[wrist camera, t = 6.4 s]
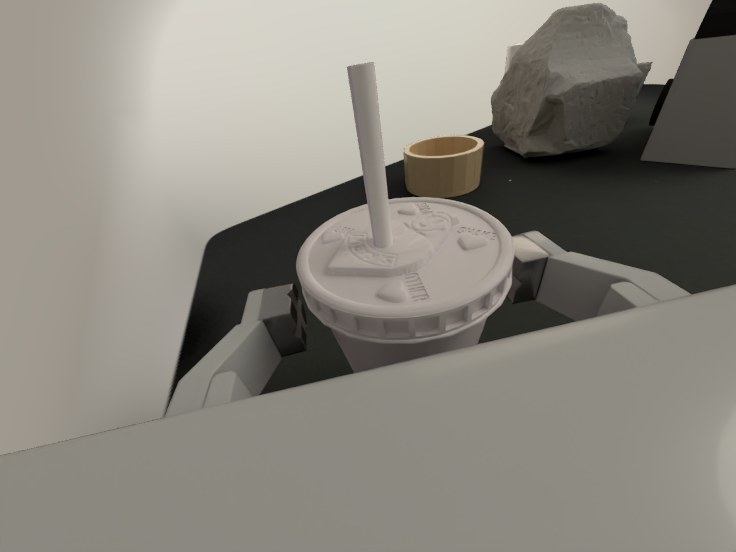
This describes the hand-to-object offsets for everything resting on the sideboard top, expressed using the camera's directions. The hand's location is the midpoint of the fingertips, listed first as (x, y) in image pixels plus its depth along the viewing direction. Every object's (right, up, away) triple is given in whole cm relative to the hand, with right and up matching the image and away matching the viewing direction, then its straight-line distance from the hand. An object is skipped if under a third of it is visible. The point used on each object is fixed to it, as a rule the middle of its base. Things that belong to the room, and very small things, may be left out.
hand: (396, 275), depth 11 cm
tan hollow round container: (+8, +12, +26) cm, 30 cm away
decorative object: (+39, +17, +25) cm, 50 cm away
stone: (+24, +18, +30) cm, 43 cm away
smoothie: (+1, -7, +4) cm, 8 cm away
